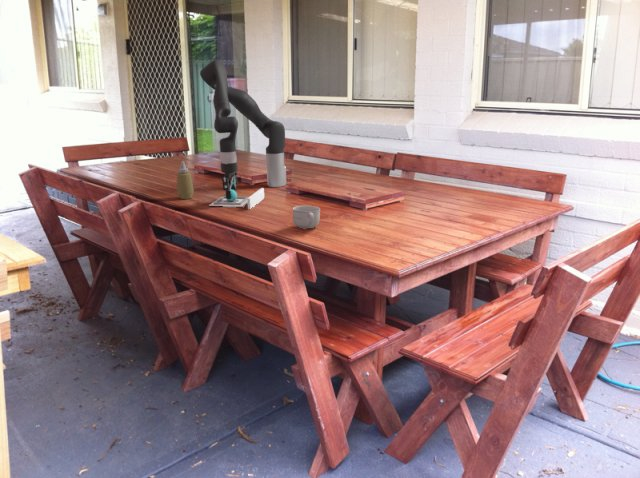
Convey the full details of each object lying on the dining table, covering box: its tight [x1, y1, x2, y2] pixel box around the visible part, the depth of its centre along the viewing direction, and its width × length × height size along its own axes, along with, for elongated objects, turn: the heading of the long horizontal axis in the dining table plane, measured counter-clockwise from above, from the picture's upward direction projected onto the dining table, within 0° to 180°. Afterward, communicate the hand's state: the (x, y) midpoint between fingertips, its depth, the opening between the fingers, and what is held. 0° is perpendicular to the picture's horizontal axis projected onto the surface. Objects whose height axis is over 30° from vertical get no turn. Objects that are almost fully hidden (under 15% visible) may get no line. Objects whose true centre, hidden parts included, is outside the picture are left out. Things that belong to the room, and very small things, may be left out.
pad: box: [208, 196, 250, 208], centre depth 279 cm, size 16×16×2 cm
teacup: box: [292, 205, 321, 229], centre depth 234 cm, size 14×11×8 cm
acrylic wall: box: [247, 187, 265, 210], centre depth 276 cm, size 22×1×5 cm, turn 169°
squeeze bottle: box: [176, 160, 195, 200], centre depth 289 cm, size 8×8×18 cm
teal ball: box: [224, 189, 238, 201], centre depth 278 cm, size 6×6×6 cm
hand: (231, 197), depth 278 cm, fingers open, 6 cm apart
